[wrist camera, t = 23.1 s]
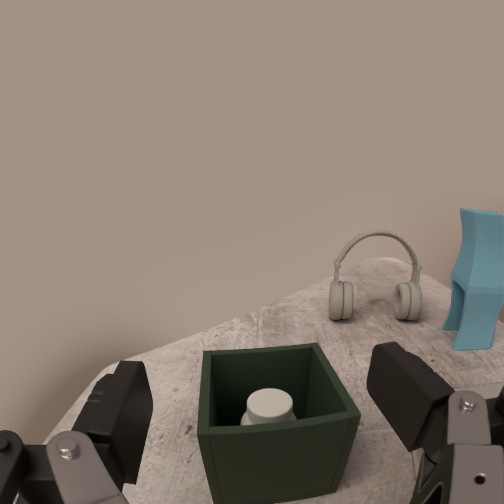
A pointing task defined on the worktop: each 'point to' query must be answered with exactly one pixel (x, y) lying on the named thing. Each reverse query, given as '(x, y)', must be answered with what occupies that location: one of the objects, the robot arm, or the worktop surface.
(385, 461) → the worktop surface
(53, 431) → the worktop surface
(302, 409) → the trash bin
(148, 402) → the robot arm
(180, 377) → the worktop surface
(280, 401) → the pill bottle
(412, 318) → the headphones
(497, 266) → the blue two-legged arch
